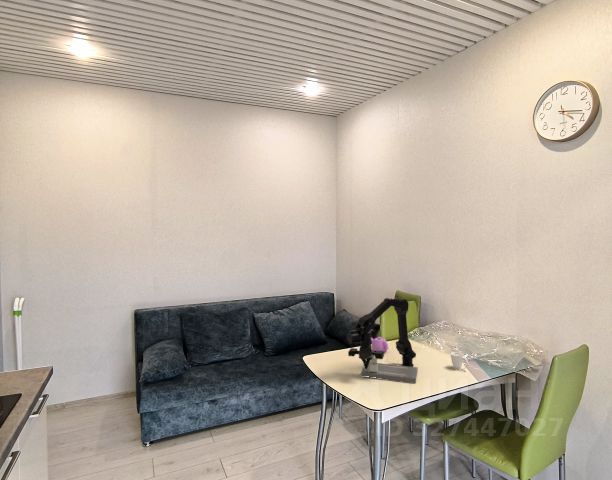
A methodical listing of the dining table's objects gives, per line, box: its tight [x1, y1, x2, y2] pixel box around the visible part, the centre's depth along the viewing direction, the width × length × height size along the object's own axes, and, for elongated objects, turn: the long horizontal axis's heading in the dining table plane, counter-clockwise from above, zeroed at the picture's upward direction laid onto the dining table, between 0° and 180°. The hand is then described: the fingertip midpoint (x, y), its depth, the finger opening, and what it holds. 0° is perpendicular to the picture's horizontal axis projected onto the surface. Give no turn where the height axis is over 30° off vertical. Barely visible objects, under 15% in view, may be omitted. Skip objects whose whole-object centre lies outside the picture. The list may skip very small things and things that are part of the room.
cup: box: [450, 351, 469, 371], centre depth 207 cm, size 7×10×8 cm
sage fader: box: [370, 362, 378, 372], centre depth 199 cm, size 3×4×4 cm
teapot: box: [371, 336, 389, 353], centre depth 239 cm, size 10×15×9 cm
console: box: [361, 362, 419, 384], centre depth 201 cm, size 16×28×3 cm, turn 70°
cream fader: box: [369, 356, 378, 364], centre depth 209 cm, size 3×4×4 cm
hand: (366, 369), depth 201 cm, fingers closed
